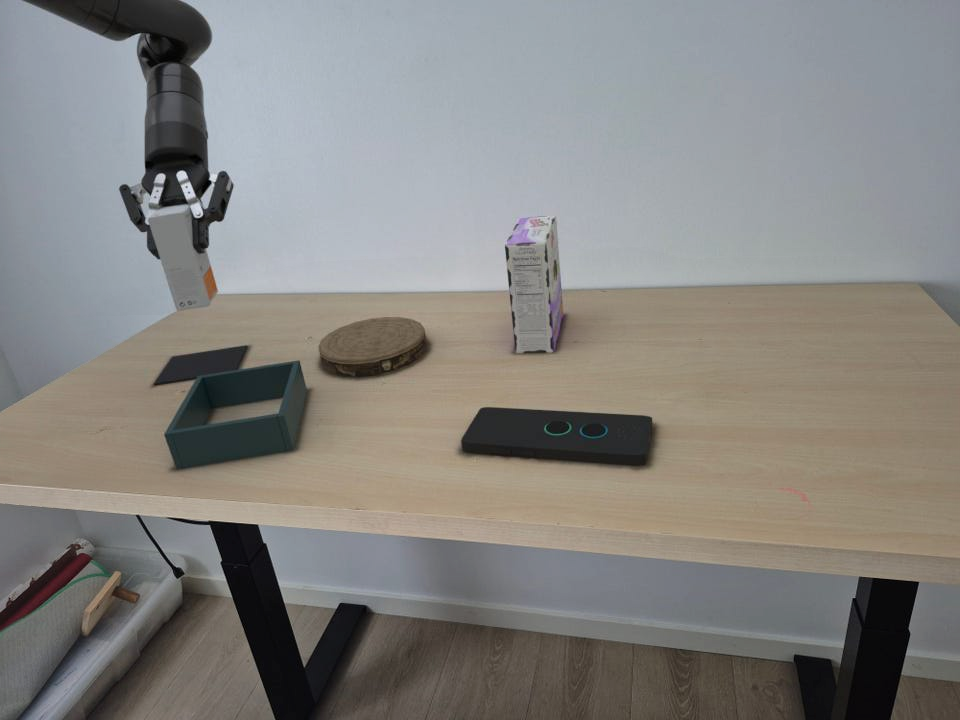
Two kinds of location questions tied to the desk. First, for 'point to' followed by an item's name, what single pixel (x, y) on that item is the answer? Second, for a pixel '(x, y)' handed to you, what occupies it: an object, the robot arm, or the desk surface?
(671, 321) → the desk surface
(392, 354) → the brown flat disc
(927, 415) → the desk surface
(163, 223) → the cosmetic box
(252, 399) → the storage box
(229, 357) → the desk pad
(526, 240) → the candy box
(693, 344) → the desk surface
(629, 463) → the smart home device
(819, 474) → the desk surface
